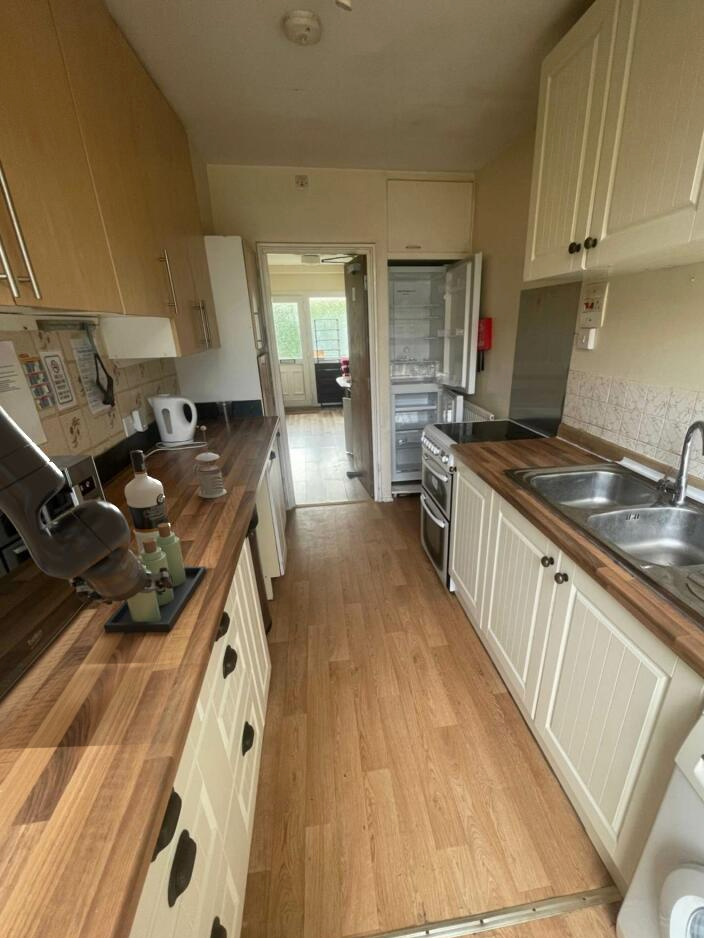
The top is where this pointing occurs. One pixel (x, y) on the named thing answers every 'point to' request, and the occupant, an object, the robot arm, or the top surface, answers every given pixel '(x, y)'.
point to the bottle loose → (144, 605)
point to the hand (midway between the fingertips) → (135, 594)
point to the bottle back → (171, 553)
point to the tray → (168, 612)
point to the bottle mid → (156, 566)
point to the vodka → (145, 502)
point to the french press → (209, 475)
